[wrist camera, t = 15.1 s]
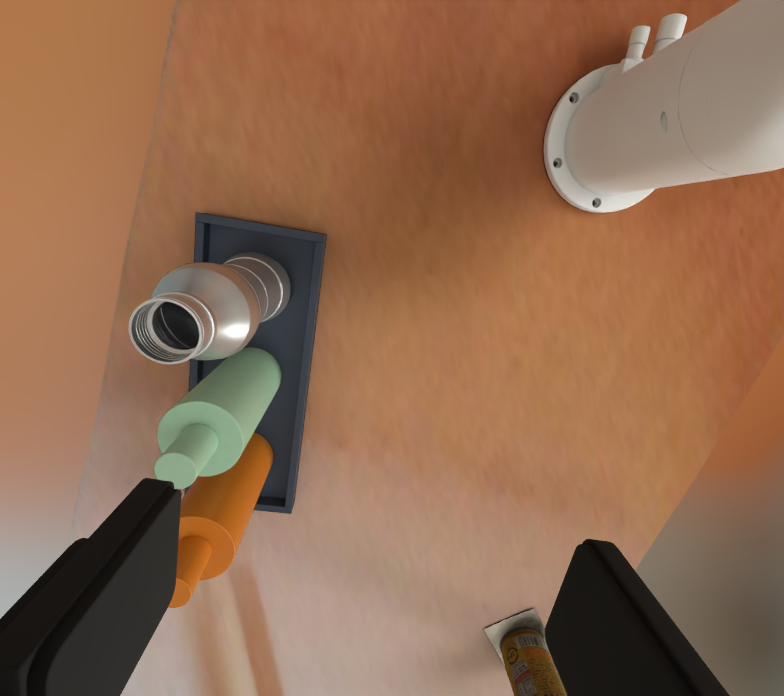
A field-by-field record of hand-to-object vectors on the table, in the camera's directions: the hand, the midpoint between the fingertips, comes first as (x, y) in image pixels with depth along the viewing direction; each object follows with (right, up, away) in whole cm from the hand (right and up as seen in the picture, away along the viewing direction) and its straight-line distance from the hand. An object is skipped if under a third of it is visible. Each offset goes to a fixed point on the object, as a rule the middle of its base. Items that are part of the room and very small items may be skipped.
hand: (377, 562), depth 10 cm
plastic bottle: (-13, +11, +31) cm, 35 cm away
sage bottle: (-14, +2, +33) cm, 36 cm away
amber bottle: (-16, -7, +36) cm, 40 cm away
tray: (-14, +2, +34) cm, 37 cm away
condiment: (+18, -34, +46) cm, 61 cm away
